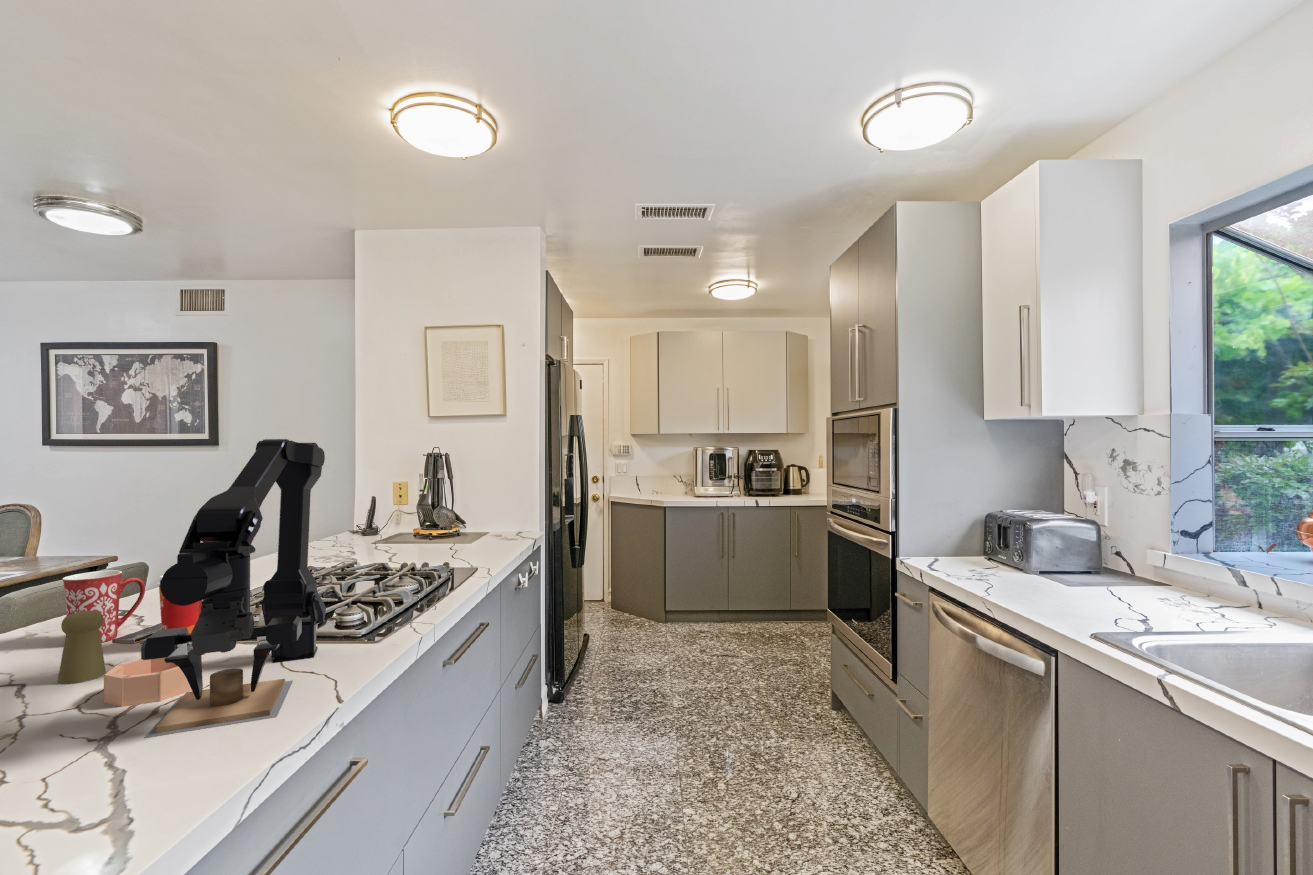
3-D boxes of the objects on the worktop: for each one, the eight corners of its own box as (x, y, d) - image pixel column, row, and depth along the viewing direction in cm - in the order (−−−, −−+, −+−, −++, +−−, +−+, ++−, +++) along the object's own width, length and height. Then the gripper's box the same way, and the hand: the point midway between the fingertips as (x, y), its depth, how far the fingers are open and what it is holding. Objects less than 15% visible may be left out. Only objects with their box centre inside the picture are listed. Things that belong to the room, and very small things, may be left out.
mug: (58, 651, 117) (59, 581, 117) (64, 640, 124) (65, 574, 124) (144, 637, 125) (144, 572, 125) (145, 628, 132) (145, 566, 132)
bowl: (207, 675, 103) (207, 649, 103) (186, 699, 93) (186, 670, 93) (124, 686, 98) (125, 658, 99) (93, 713, 88) (93, 682, 88)
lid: (285, 683, 98) (285, 653, 98) (269, 715, 86) (269, 681, 86) (186, 697, 93) (186, 665, 93) (155, 733, 81) (156, 696, 81)
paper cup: (174, 639, 123) (175, 570, 124) (214, 638, 124) (214, 569, 124) (145, 652, 116) (146, 578, 116) (188, 650, 116) (188, 577, 116)
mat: (293, 682, 99) (293, 680, 99) (276, 719, 85) (276, 716, 85) (180, 698, 93) (180, 696, 93) (143, 740, 80) (143, 737, 80)
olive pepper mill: (76, 685, 99) (76, 617, 100) (47, 682, 101) (48, 616, 101) (115, 671, 105) (116, 608, 106) (88, 669, 106) (88, 607, 107)
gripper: (125, 608, 79) (124, 729, 78) (291, 593, 86) (291, 704, 86) (156, 590, 89) (155, 698, 89) (302, 578, 96) (302, 677, 96)
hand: (226, 694), depth 89 cm, fingers open, 6 cm apart
